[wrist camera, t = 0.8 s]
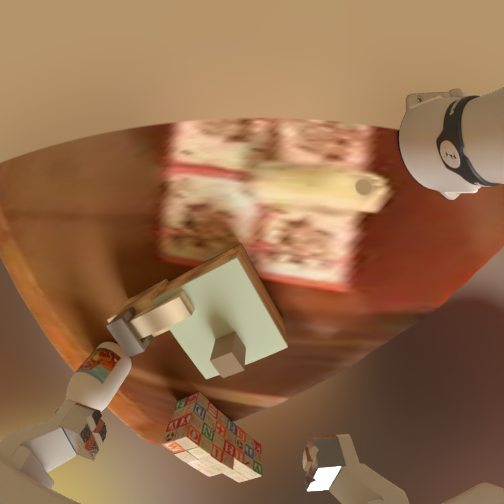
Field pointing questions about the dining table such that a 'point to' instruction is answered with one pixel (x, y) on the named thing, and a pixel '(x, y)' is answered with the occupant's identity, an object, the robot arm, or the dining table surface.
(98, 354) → the milk bottle
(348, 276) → the dining table surface
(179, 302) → the wooden block
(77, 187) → the dining table surface
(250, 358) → the lid
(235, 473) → the stack of blocks
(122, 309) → the wooden cabinet
